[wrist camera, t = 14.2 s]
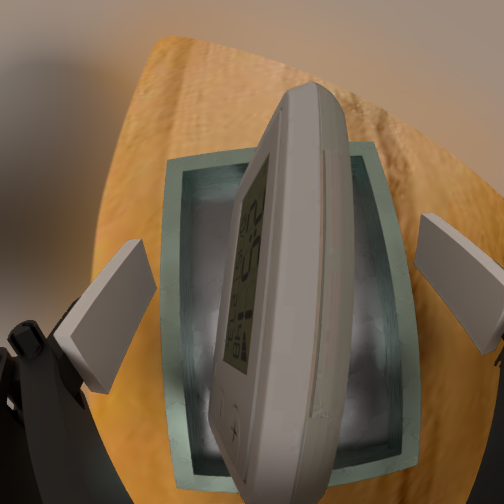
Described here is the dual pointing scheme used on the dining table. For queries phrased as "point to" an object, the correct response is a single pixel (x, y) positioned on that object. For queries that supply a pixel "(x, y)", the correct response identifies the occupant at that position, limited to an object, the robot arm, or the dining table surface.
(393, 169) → the dining table surface
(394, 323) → the keeper tray
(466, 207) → the dining table surface
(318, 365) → the digital clock
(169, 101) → the dining table surface
